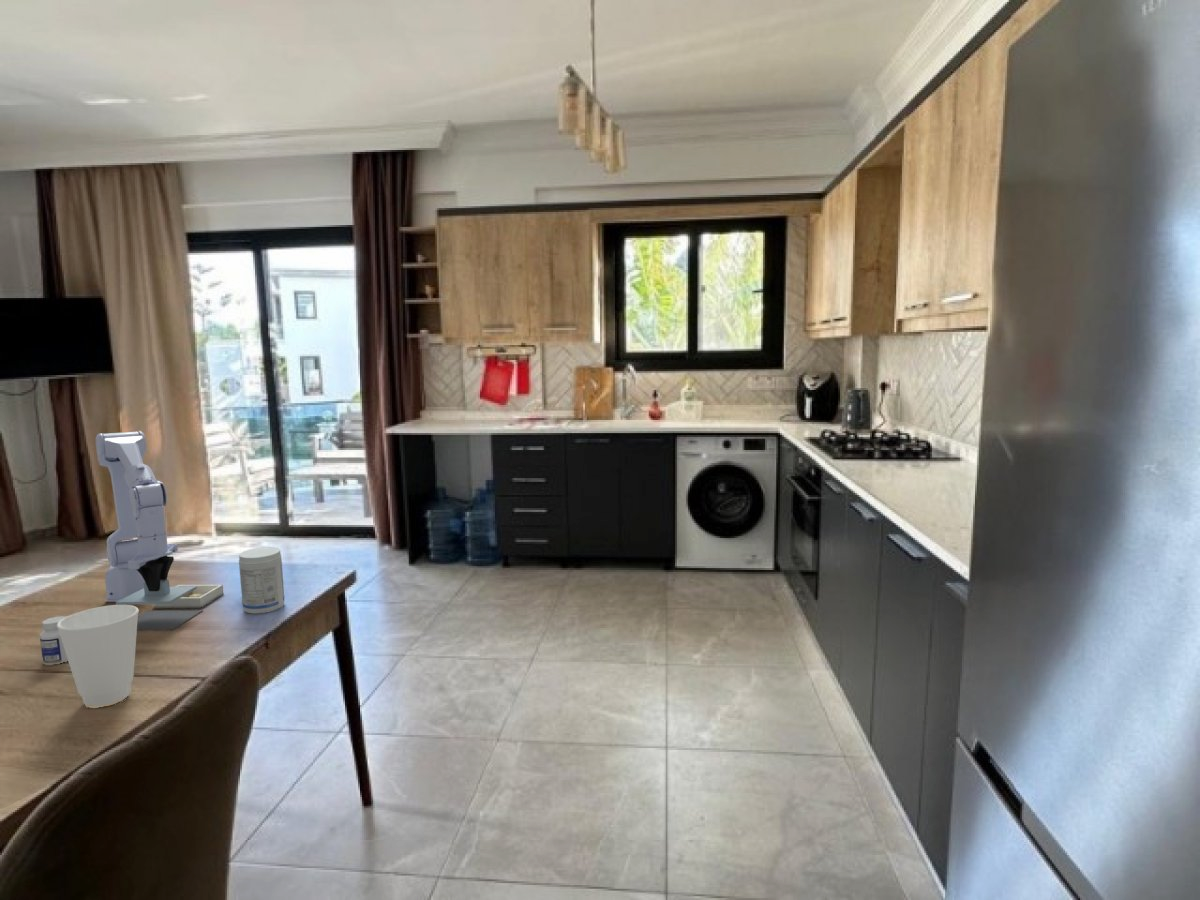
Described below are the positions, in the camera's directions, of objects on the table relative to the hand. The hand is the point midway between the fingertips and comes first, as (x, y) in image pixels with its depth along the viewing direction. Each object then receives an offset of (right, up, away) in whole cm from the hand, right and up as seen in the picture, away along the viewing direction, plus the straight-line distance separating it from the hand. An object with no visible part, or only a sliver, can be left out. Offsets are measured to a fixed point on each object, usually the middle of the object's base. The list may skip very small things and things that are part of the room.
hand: (157, 589), depth 155 cm
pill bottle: (-7, -11, -20) cm, 24 cm away
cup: (+15, -13, -36) cm, 41 cm away
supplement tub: (+21, -7, +9) cm, 24 cm away
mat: (0, -8, +1) cm, 8 cm away
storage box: (-1, -6, +14) cm, 15 cm away
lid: (0, -2, 0) cm, 2 cm away
